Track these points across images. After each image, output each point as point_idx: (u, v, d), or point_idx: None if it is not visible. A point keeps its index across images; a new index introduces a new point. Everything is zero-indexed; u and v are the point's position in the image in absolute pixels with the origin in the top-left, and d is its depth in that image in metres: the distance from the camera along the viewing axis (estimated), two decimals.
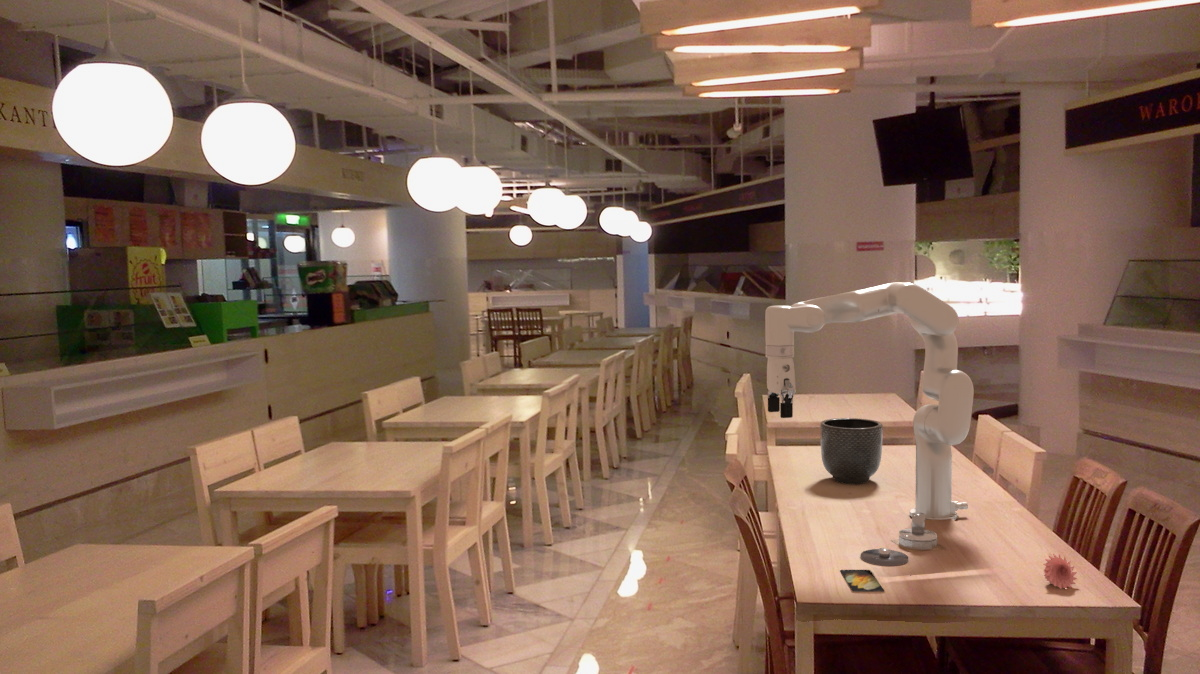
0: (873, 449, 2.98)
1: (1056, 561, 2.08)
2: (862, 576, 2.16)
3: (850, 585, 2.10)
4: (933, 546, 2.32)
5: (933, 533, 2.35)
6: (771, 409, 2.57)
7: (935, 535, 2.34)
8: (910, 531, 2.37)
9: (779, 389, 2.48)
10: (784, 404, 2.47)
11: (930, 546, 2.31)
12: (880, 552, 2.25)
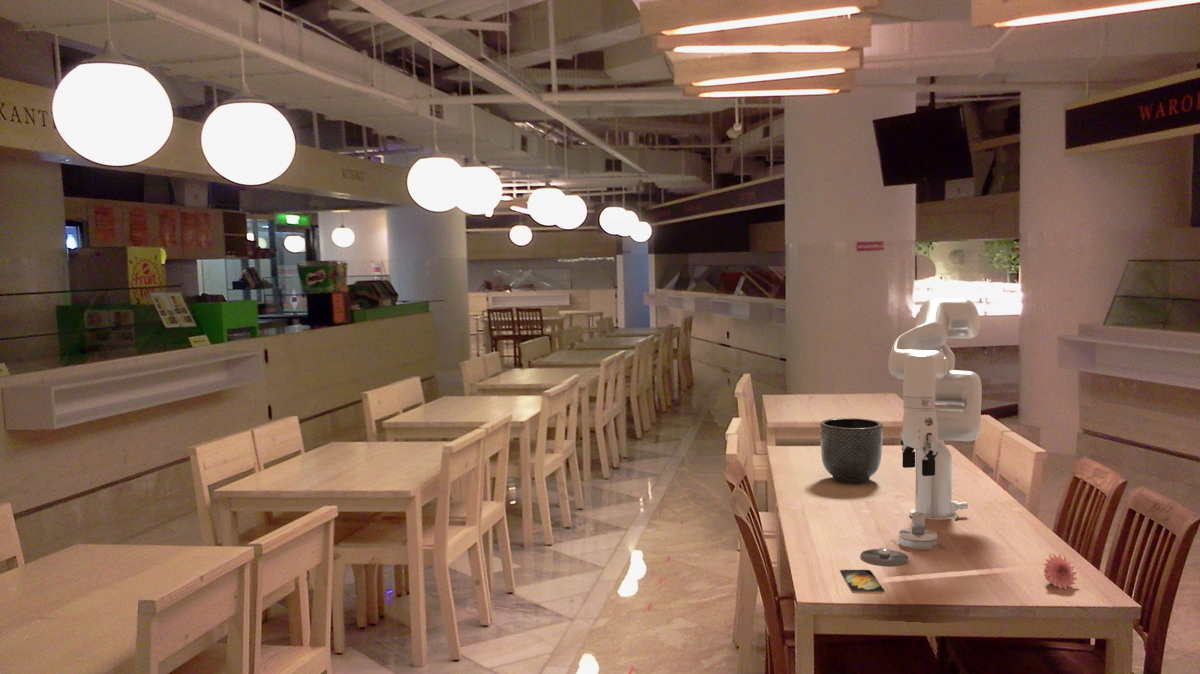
0: (873, 449, 2.98)
1: (1056, 561, 2.08)
2: (862, 576, 2.16)
3: (850, 585, 2.10)
4: (933, 546, 2.32)
5: (933, 533, 2.35)
6: (906, 464, 2.38)
7: (935, 535, 2.34)
8: (910, 531, 2.37)
9: (921, 445, 2.28)
10: (926, 461, 2.28)
11: (930, 546, 2.31)
12: (880, 552, 2.25)
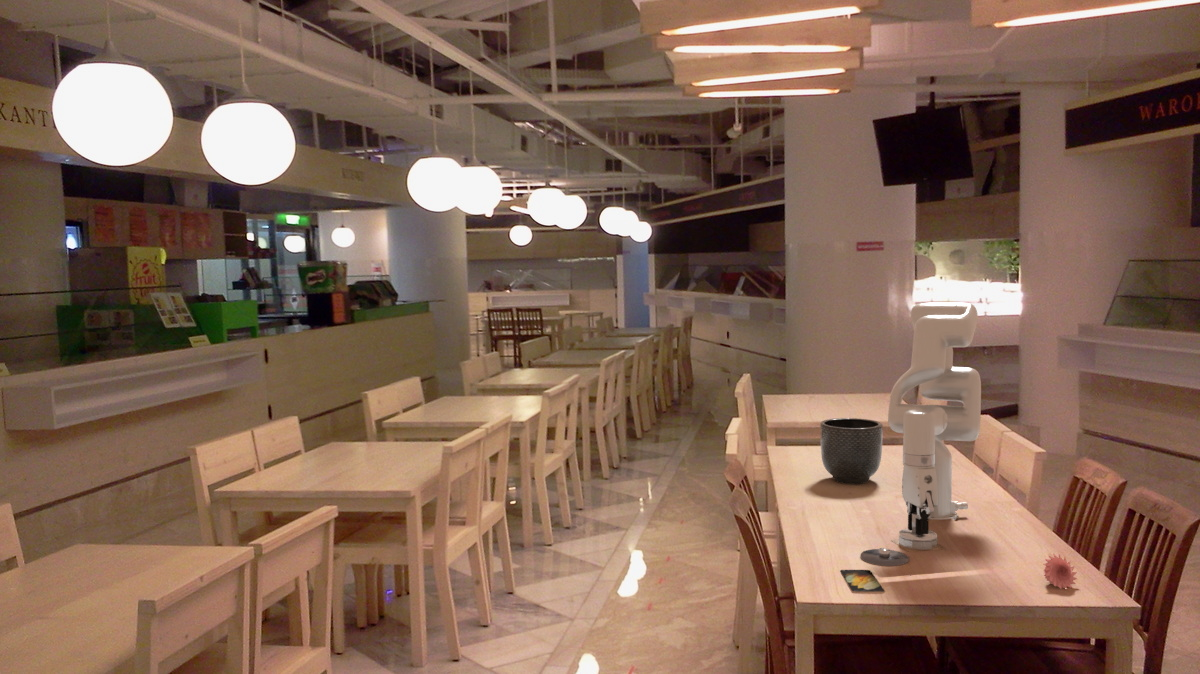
0: (873, 449, 2.98)
1: (1056, 561, 2.08)
2: (862, 576, 2.16)
3: (850, 585, 2.10)
4: (933, 546, 2.32)
5: (933, 533, 2.35)
6: None
7: (935, 535, 2.34)
8: (910, 531, 2.37)
9: (920, 502, 2.30)
10: (920, 520, 2.33)
11: (930, 546, 2.31)
12: (880, 552, 2.25)
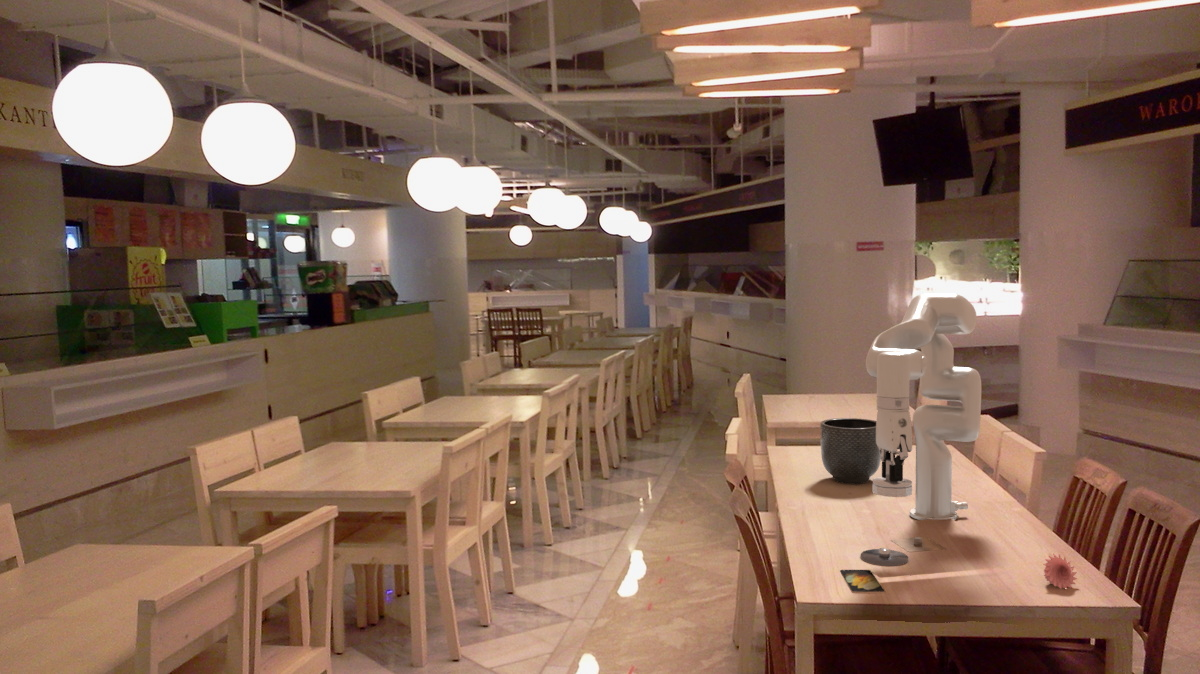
0: (873, 449, 2.98)
1: (1056, 561, 2.08)
2: (862, 576, 2.16)
3: (850, 585, 2.10)
4: (907, 493, 2.23)
5: (908, 481, 2.26)
6: None
7: (910, 482, 2.24)
8: (884, 479, 2.28)
9: (894, 446, 2.20)
10: (894, 466, 2.23)
11: (904, 493, 2.22)
12: (880, 552, 2.25)
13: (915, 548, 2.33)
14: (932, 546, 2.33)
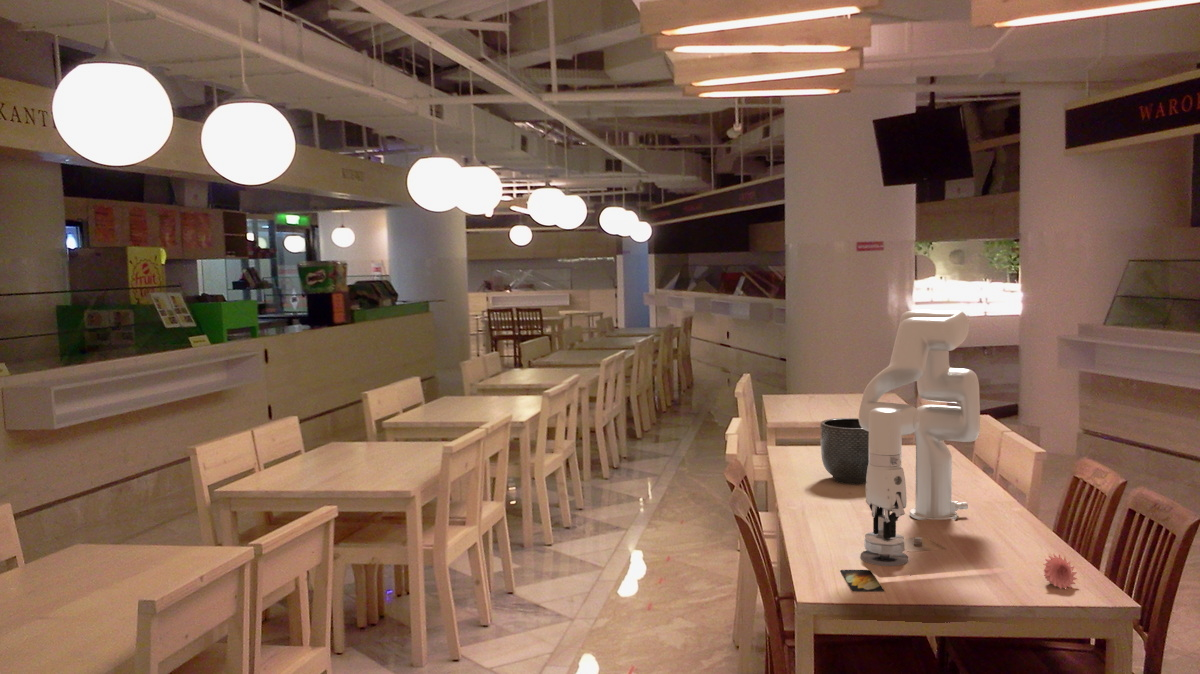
0: None
1: (1056, 561, 2.08)
2: (862, 576, 2.16)
3: (850, 585, 2.10)
4: (902, 549, 2.22)
5: (899, 536, 2.26)
6: (877, 531, 2.26)
7: (902, 538, 2.24)
8: (875, 535, 2.27)
9: (891, 504, 2.20)
10: (888, 523, 2.22)
11: (899, 550, 2.22)
12: None
13: (915, 548, 2.33)
14: (932, 546, 2.33)
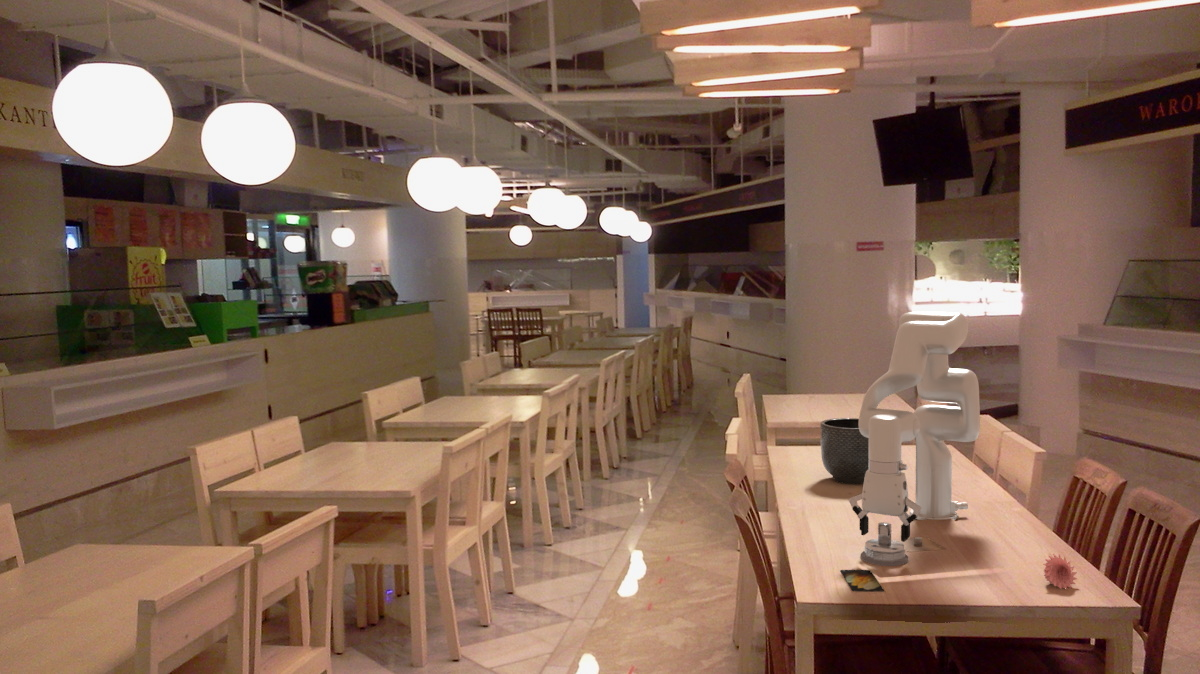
0: None
1: (1056, 561, 2.08)
2: (862, 576, 2.16)
3: (850, 585, 2.10)
4: None
5: (893, 541, 2.28)
6: (865, 531, 2.27)
7: (899, 542, 2.27)
8: (875, 544, 2.26)
9: (901, 510, 2.20)
10: (906, 526, 2.21)
11: (904, 554, 2.24)
12: None
13: (915, 548, 2.33)
14: (932, 546, 2.33)
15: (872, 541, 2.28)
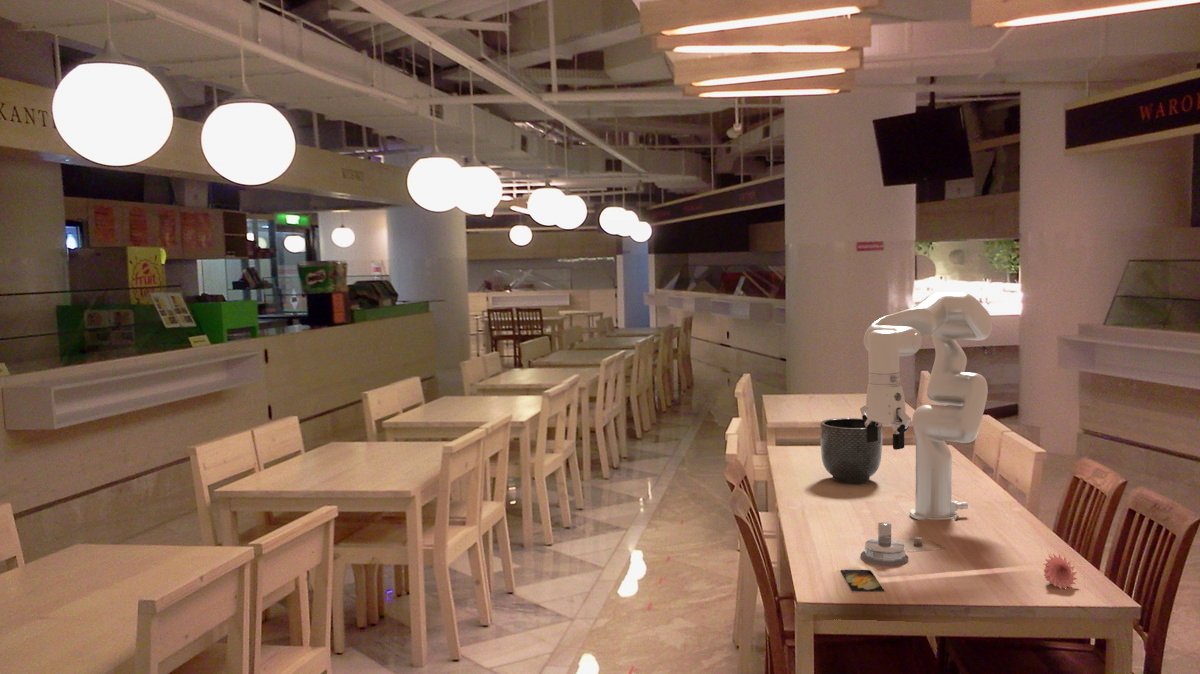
0: (873, 449, 2.98)
1: (1056, 561, 2.08)
2: (862, 576, 2.16)
3: (850, 585, 2.10)
4: None
5: (893, 541, 2.28)
6: (870, 439, 2.43)
7: (899, 542, 2.27)
8: (875, 544, 2.26)
9: (892, 419, 2.34)
10: (897, 435, 2.34)
11: (904, 554, 2.24)
12: None
13: (915, 548, 2.33)
14: (932, 546, 2.33)
15: (872, 541, 2.28)
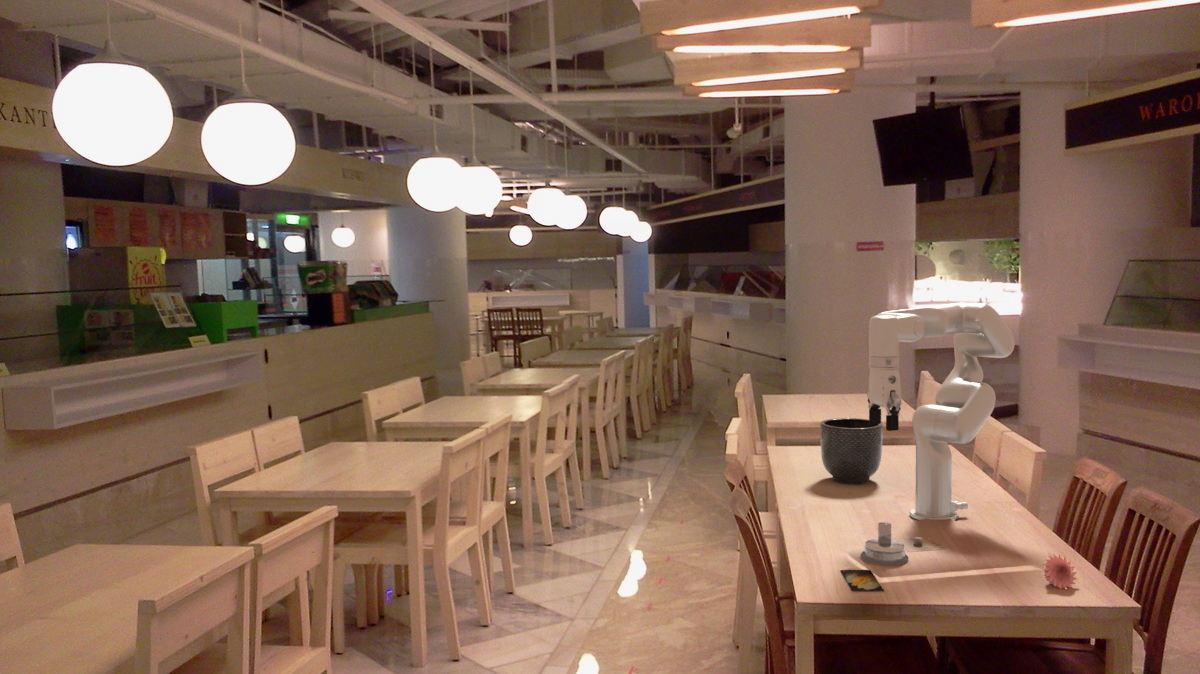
0: (873, 449, 2.98)
1: (1056, 561, 2.08)
2: (862, 576, 2.16)
3: (850, 585, 2.10)
4: None
5: (893, 541, 2.28)
6: (873, 421, 2.52)
7: (899, 542, 2.27)
8: (875, 544, 2.26)
9: (885, 401, 2.42)
10: (890, 416, 2.42)
11: (904, 554, 2.24)
12: None
13: (915, 548, 2.33)
14: (932, 546, 2.33)
15: (872, 541, 2.28)
